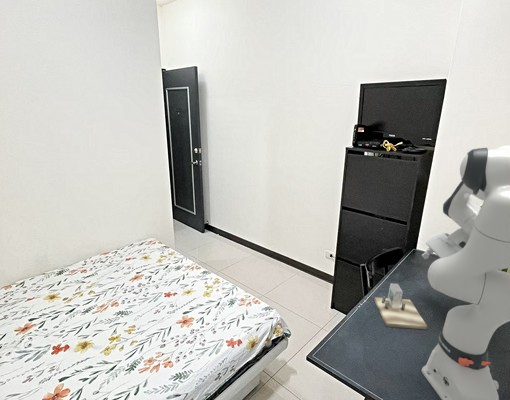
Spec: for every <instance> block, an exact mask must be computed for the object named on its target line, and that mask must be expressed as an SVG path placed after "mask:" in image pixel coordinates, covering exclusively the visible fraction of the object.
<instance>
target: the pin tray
mask: <svg viewBox="0 0 510 400" xmlns="http://www.w3.org/2000/svg"><path fill="white" fill-rule="evenodd" d="M387 299H388V297H387V296H385V295H383V296H382V297H378V296H376V297H374V300H373V301H374V302H375V305H376V307H377V309H378V312H379V313H380V315H381V318H382V320H383V322H384V324H385V326H386V327H390V328H392V327H393V328H404V329H415V330H416V329H417V330H427V329H428V325H427V323H426V322H425V321H424V319H423V317H422V316H421V315H420V312H419V311H418V309H417V307H416V306H415V305H414V303H413V301H411V299H405V298H402V299H401V303H400V308H399V310H391V308H390V306H389V302H388V301H387Z"/></svg>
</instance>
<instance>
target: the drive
mask: <svg viewBox="0 0 510 400" xmlns="http://www.w3.org/2000/svg"><path fill="white" fill-rule="evenodd" d="M403 294H404V291H403V290H402V288H401V287H400V284H398V283H390V284H389V289H388V294H387V298H388V299H387V301H388V302H389V306H390V308H391V310H399V308H400V303H401V299H403Z"/></svg>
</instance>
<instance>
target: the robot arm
mask: <svg viewBox="0 0 510 400" xmlns="http://www.w3.org/2000/svg"><path fill="white" fill-rule="evenodd" d="M459 175H460V177H461V181H460V182H459V183H458V185H457V187H456V188H455V189H454V191H453V192H452V194H451V195H450V196H449V197H448V198H447V199H446V200H445V201H444V203H443V204H442V213H443V214H445V216H446V217H448V218H450V219H451V220H452V221H453V222H454V223H456V224H457V226H459V227H460V228H458V229H456V230H455V231H453V232H452V233H450V234H449V233H441V234H437V235H435V236H433V237H432V238H430V239H428V240H427V241H426V242H425V244H426V246H427V247H428V248H426V250H425V251H424V253H422V254H421V256H422V258H423V259H424V260H427V259H429V257H430V255H431V254H433V253H434V254H435V255H436V256H437V257H438V258H437V259H435V260H434V261H433V262H432V263H431V264H430V266H429V268H428V270H427V279H428V283H429V285H430V287H431V288H432V289H433V290H435V291H438V292H439V293H442V294H443V295H446V297H447V296H448V297H450V298H453V299H457V300H459V301H463V302H465V303H470V304H467V305H465V304H464V305H463V304H462V305H457V306H454V307H452V308H451V309H449V310H448V312H447V314H446V317H445V321H444V325H443V328H441V330H440V332H439V335H438V338H437V339H438V340H437V345H436V346H435V347H434V348H433V349H432V351H431V352H430V355H429V358H428V360H427V361H426V362H427V363H426V364H425V365H423V367H422V368H421V373H422V375H423V376H424V378H425V379H426V380H427V381H428V383H429V384H430V385H431V387H432V389H433V390H434V391H435V392H436V394H437V395H438V396H439V398H440V399H441V400H500V398H499V393H498V391H497V390H499V389H500V385H499V381H497V380H496V379H493V376H492V375H491V372H490V370H491V369H490V367H489V366H491V364H492V362H490V361H489V358H488V357H489V349H488V346H489V343H490V341H491V339H492V336H493V335H494V333H495V332H496V331H497V329H498V328H500V327H501V326H502V325H504V324H507V323H509V322H510V272H506V271H504V270H505V269H510V144H509V145H508V144H506V145H501V146H498V147H496V148H488V147H480V148H479V147H478V148H473V149H471V150H469V151H468V152H467V154H466V155H465V157H464V158H462V160H461V163H460V165H459ZM471 195H472V196H474V197H476V198H477V199H479V200H480V201H483V202H482V205H481V206H480V205H478V204H477V202H475V201H474V200H473V199H472V198H471V197H470V196H471Z"/></svg>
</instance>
